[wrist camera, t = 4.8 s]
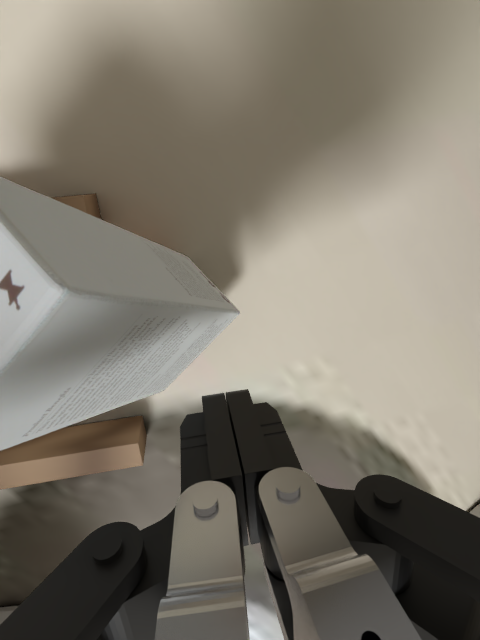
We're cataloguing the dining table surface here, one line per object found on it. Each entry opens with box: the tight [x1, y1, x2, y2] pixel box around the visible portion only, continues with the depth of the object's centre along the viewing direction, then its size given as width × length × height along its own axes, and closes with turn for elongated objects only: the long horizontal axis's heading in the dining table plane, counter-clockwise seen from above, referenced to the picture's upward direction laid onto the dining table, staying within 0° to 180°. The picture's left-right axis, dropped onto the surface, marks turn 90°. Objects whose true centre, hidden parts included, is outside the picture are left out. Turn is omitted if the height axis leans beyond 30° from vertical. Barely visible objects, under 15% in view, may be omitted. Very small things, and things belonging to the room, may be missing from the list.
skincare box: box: [0, 176, 240, 451], centre depth 13 cm, size 6×4×12 cm
